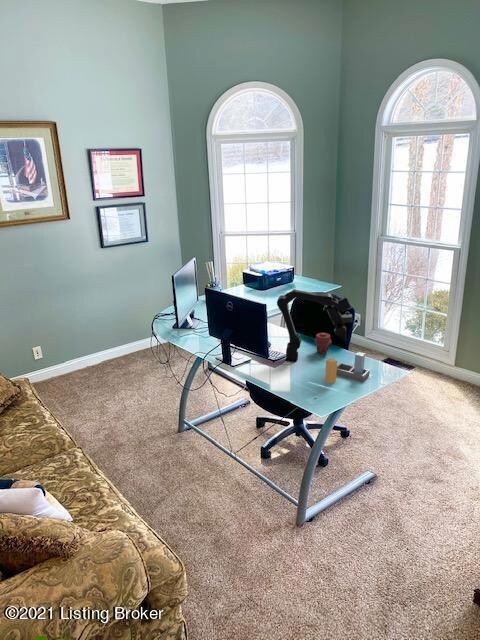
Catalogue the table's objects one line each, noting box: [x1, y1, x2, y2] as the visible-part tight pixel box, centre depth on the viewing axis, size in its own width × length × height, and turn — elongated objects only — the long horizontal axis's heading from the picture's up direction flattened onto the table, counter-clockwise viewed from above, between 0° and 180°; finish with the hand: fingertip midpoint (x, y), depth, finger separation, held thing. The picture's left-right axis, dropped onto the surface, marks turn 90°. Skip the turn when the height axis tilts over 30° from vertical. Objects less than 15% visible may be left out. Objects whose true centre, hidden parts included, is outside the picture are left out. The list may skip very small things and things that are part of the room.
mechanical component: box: [314, 332, 332, 356], centre depth 285 cm, size 12×10×10 cm
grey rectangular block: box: [353, 351, 366, 375], centre depth 254 cm, size 5×5×13 cm
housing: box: [336, 362, 373, 384], centre depth 258 cm, size 20×12×4 cm, turn 56°
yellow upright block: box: [324, 357, 338, 384], centre depth 249 cm, size 5×5×13 cm
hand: (345, 338), depth 268 cm, fingers open, 9 cm apart
